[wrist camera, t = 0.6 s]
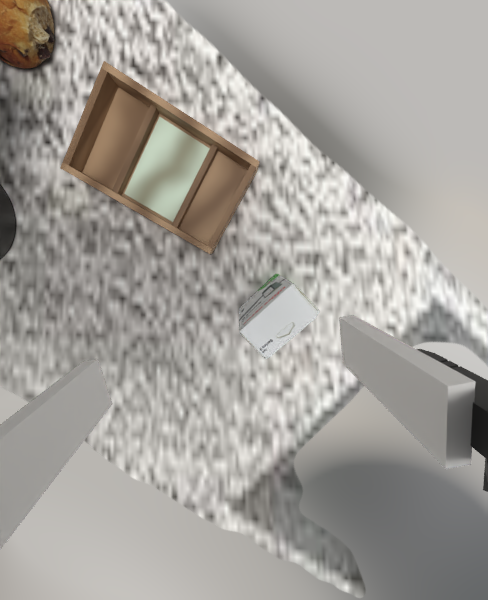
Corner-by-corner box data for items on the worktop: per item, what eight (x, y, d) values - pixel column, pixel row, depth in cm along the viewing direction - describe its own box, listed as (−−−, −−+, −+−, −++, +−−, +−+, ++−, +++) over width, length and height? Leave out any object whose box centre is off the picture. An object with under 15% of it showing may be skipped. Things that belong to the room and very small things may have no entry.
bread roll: (57, 6, 33) (-14, -98, 25) (77, 49, 30) (5, -52, 23) (0, 46, 34) (-86, -43, 26) (15, 92, 31) (-76, 8, 23)
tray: (78, 176, 34) (60, 168, 30) (118, 81, 32) (104, 60, 28) (212, 253, 37) (209, 254, 33) (257, 170, 34) (259, 161, 31)
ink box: (276, 271, 37) (294, 279, 26) (297, 294, 38) (323, 311, 27) (237, 308, 38) (237, 332, 27) (258, 330, 39) (267, 362, 28)
